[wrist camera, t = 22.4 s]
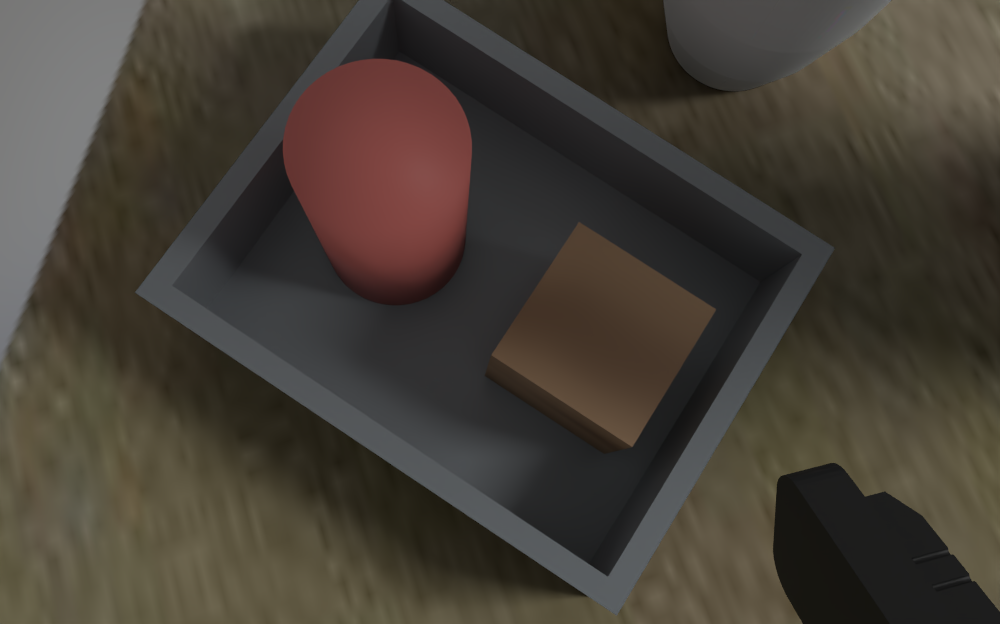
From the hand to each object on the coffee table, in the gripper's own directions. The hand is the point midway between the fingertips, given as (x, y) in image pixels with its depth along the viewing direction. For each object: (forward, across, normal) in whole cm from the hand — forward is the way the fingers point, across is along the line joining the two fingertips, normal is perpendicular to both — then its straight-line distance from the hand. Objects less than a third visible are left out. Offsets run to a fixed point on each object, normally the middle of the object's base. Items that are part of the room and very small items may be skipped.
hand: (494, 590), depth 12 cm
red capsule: (+21, 0, +6) cm, 22 cm away
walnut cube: (+17, -5, +10) cm, 21 cm away
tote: (+20, -3, +9) cm, 22 cm away
